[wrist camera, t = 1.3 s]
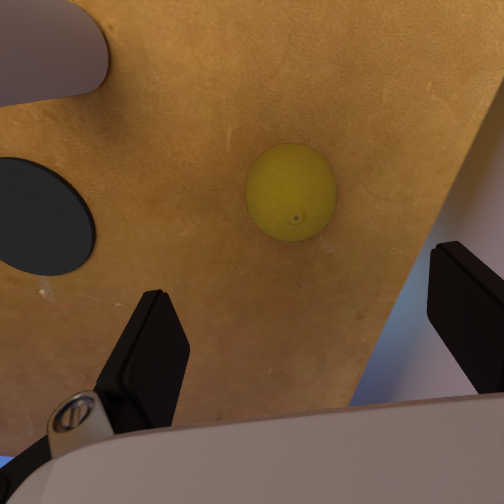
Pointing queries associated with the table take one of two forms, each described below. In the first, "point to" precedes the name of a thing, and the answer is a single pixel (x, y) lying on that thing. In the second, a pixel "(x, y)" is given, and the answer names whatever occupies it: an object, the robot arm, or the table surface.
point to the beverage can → (48, 51)
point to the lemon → (291, 192)
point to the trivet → (42, 220)
